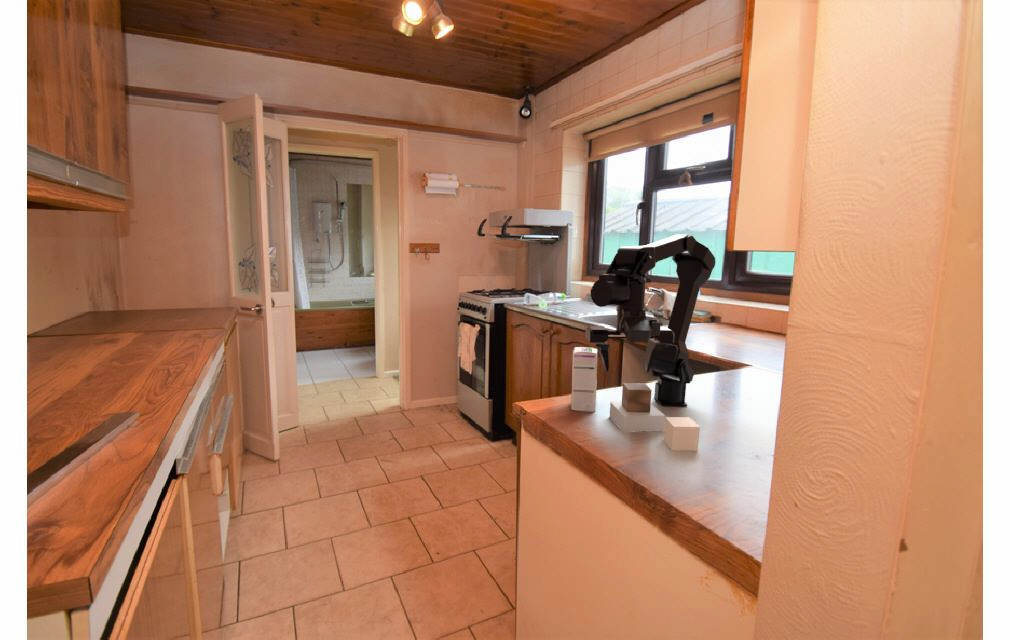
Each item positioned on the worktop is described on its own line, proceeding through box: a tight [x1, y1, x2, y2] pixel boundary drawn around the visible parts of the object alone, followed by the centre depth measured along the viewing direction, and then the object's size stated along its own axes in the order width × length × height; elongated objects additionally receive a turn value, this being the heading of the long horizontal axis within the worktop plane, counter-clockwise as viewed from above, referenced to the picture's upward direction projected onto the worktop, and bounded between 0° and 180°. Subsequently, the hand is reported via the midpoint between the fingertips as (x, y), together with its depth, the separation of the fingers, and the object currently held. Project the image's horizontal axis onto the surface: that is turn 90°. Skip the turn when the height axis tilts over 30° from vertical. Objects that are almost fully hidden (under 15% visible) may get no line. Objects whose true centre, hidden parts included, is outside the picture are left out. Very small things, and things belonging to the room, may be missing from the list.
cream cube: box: [663, 416, 701, 452], centre depth 92 cm, size 5×5×5 cm
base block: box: [609, 401, 666, 433], centre depth 103 cm, size 9×9×4 cm
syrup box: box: [570, 346, 598, 413], centre depth 112 cm, size 6×6×14 cm
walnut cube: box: [621, 382, 652, 412], centre depth 102 cm, size 5×5×5 cm
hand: (627, 371), depth 105 cm, fingers open, 9 cm apart
